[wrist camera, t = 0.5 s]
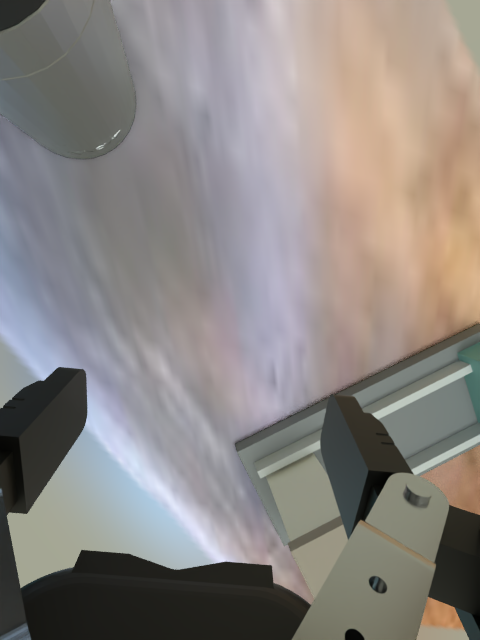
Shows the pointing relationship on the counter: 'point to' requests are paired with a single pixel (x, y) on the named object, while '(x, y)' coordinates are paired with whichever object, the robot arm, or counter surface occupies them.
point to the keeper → (309, 518)
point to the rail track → (387, 416)
